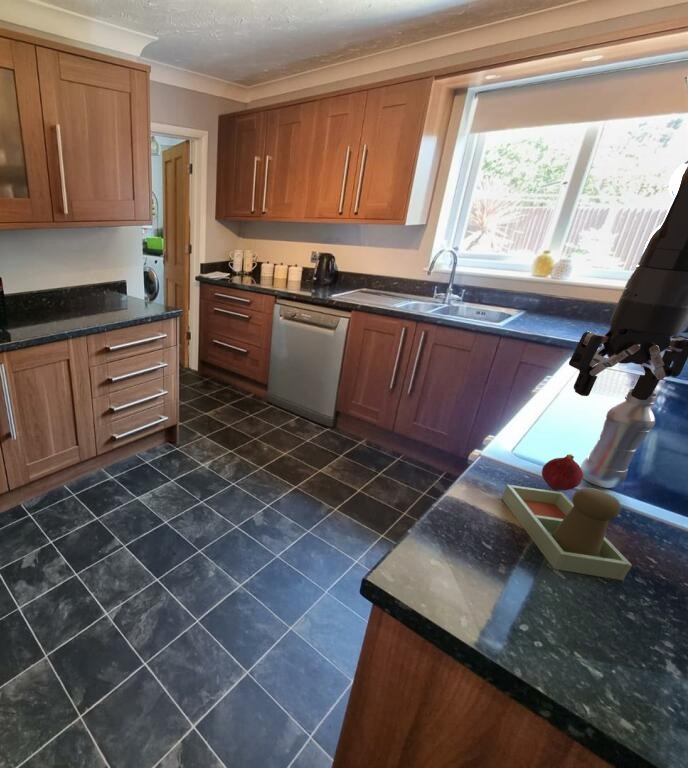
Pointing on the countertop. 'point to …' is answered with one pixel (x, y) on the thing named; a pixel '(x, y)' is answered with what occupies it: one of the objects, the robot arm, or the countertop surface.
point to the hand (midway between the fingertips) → (609, 396)
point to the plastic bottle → (619, 441)
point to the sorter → (541, 520)
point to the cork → (586, 522)
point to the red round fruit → (562, 473)
